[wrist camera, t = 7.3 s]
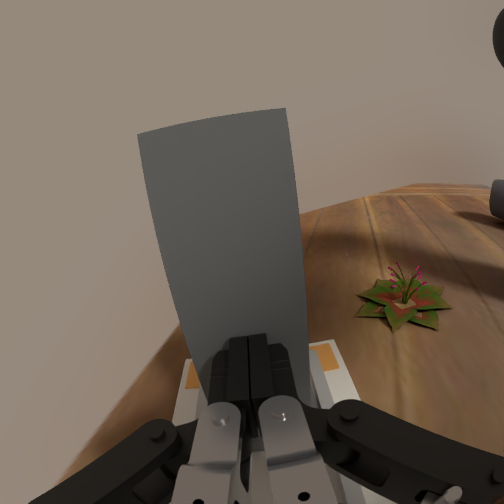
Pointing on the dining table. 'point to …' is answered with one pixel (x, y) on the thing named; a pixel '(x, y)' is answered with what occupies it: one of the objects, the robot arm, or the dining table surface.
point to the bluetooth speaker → (497, 199)
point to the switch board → (326, 395)
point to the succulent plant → (404, 301)
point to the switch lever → (231, 235)
